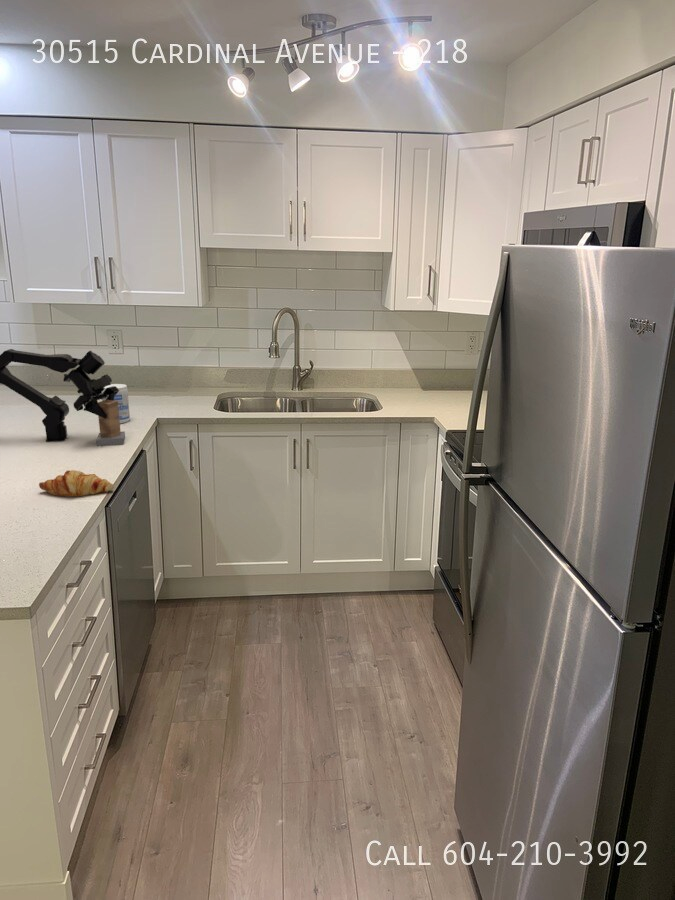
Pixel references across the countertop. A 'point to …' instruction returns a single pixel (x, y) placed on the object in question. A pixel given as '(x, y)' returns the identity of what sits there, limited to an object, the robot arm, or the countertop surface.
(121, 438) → the light grey plinth
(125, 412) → the supplement tub
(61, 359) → the robot arm
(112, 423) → the walnut pillar
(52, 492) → the croissant
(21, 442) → the countertop surface
